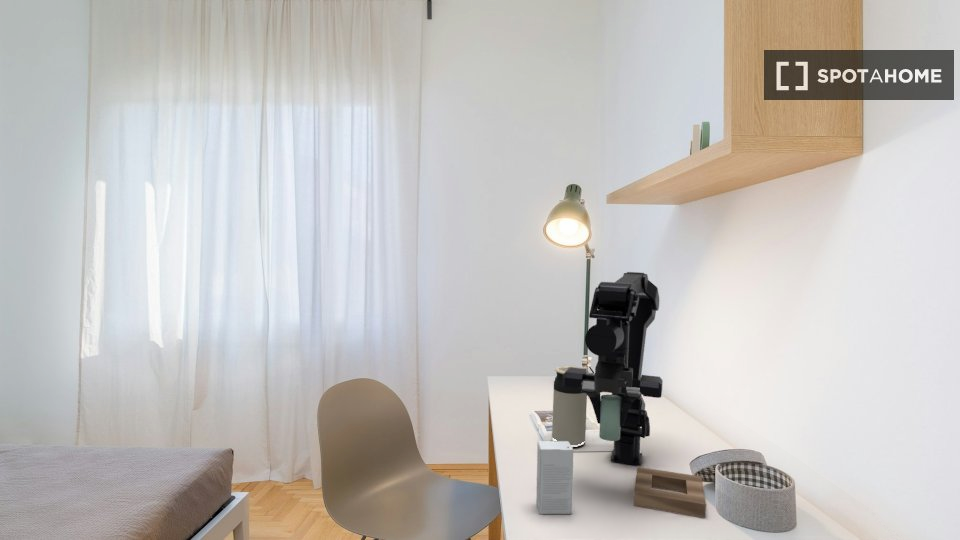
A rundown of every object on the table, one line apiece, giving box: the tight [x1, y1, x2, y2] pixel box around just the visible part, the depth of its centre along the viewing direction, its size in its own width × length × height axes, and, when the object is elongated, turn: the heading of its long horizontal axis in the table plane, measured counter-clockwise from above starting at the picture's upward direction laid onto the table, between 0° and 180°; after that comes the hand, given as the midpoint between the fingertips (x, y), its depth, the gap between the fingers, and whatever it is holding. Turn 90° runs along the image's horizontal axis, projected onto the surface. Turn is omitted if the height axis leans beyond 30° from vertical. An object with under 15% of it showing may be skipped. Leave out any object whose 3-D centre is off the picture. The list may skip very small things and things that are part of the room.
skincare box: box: [535, 440, 574, 515], centre depth 100 cm, size 6×4×12 cm
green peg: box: [598, 394, 622, 442], centre depth 108 cm, size 4×4×8 cm
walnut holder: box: [633, 466, 707, 519], centre depth 106 cm, size 12×12×2 cm
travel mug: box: [551, 365, 588, 445], centre depth 133 cm, size 8×8×18 cm
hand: (610, 424), depth 108 cm, fingers closed on green peg, 4 cm apart
